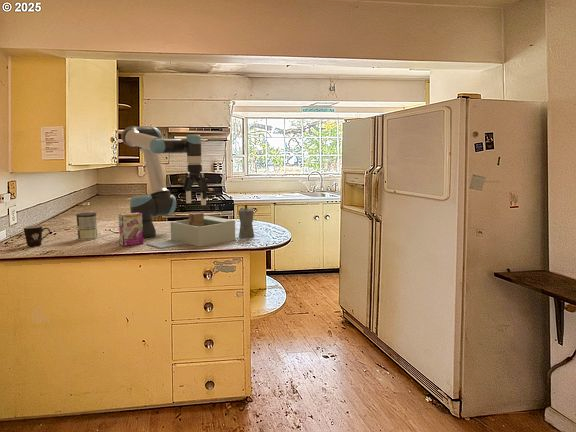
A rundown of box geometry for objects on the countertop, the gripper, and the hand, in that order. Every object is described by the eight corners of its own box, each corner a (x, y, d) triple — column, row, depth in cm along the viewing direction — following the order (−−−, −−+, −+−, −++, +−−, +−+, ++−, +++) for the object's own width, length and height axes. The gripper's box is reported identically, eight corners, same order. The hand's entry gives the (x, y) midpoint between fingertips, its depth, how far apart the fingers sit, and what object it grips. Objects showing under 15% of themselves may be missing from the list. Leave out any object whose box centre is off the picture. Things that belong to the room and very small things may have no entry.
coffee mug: (23, 248, 245) (21, 228, 244) (27, 244, 253) (25, 225, 252) (48, 246, 248) (46, 227, 247) (51, 243, 256) (49, 224, 255)
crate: (171, 239, 264) (170, 220, 263) (206, 233, 281) (206, 215, 280) (199, 246, 246) (198, 225, 245) (235, 239, 263) (234, 220, 262)
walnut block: (189, 232, 260) (188, 213, 258) (198, 230, 264) (198, 212, 262) (194, 233, 256) (194, 214, 255) (204, 231, 260) (203, 213, 259)
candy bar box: (123, 246, 246) (121, 215, 244) (119, 245, 250) (117, 214, 248) (144, 243, 254) (142, 213, 251) (140, 242, 258) (138, 212, 255)
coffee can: (73, 239, 267) (72, 214, 265) (89, 236, 275) (88, 212, 273) (85, 241, 261) (84, 215, 259) (101, 238, 270) (100, 213, 268)
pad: (146, 244, 251) (146, 243, 251) (169, 240, 261) (169, 239, 261) (160, 248, 242) (160, 247, 242) (184, 244, 252) (184, 243, 252)
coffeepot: (258, 237, 269) (258, 205, 266) (242, 239, 265) (242, 206, 262) (248, 233, 283) (248, 202, 280) (233, 234, 278) (232, 203, 276)
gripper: (214, 164, 249) (216, 205, 252) (187, 163, 266) (188, 201, 269) (202, 164, 243) (204, 206, 246) (175, 164, 261) (177, 203, 264)
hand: (196, 204), depth 258 cm, fingers open, 13 cm apart
